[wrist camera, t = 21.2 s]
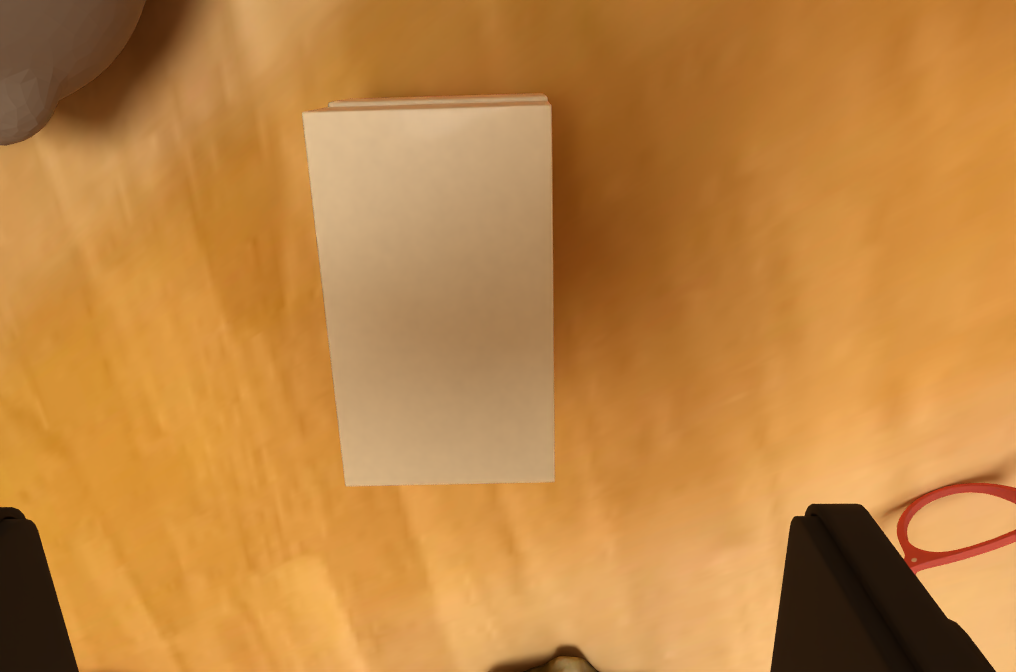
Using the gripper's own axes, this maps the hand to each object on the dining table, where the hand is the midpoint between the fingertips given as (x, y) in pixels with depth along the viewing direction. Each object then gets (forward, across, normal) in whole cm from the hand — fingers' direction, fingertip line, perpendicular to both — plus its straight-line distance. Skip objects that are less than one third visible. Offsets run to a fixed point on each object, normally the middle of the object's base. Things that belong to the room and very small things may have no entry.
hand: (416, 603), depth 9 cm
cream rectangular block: (+17, +1, +1) cm, 17 cm away
